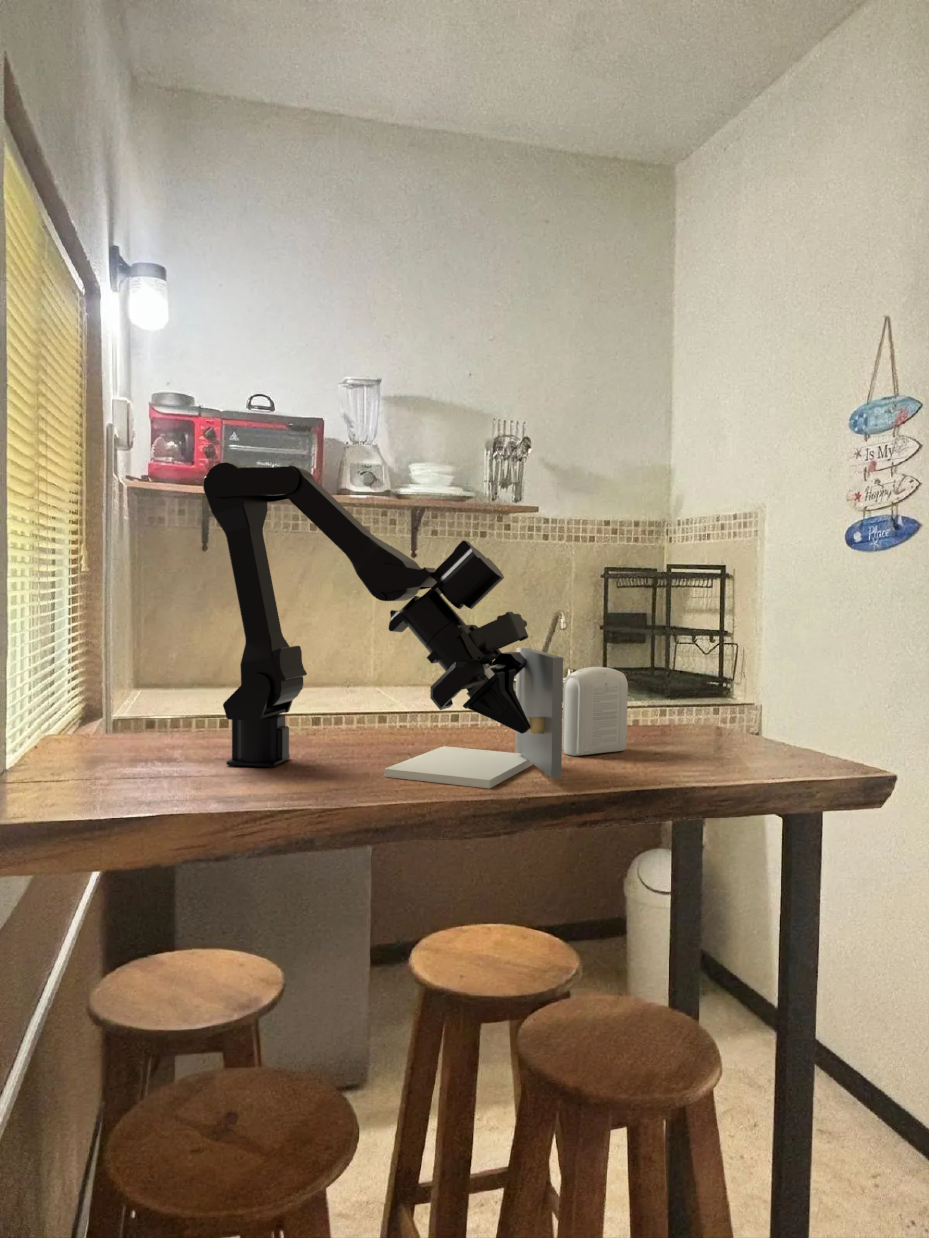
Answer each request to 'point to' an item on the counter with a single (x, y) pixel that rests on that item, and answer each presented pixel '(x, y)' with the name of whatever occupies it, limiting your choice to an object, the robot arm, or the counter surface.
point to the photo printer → (594, 711)
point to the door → (541, 710)
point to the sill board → (460, 767)
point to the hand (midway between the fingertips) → (526, 730)
